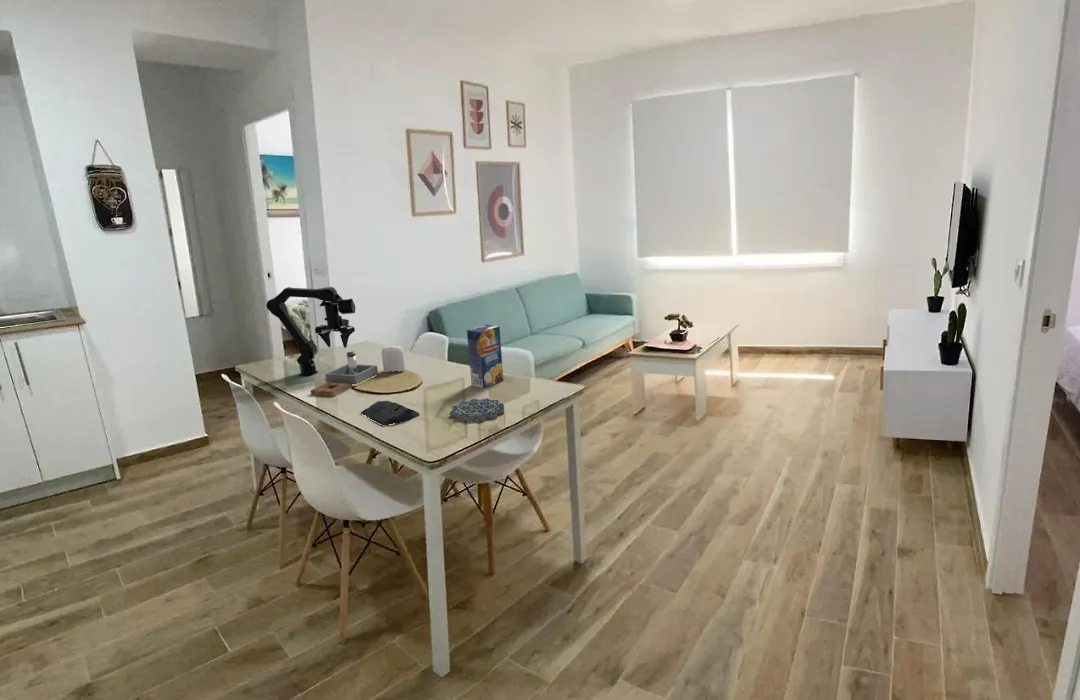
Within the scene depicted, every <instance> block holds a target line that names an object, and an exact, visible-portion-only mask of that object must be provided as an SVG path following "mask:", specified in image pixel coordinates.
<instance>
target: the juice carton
mask: <svg viewBox="0 0 1080 700" xmlns="http://www.w3.org/2000/svg"><path fill="white" fill-rule="evenodd" d="M500 330H501V329H500V326H499V325H494V324H493V325H491V324H484V325H481V326H477V327H474V328H470V329H467V330H466V334H467V337H466V338H467V347H468V357H469V359H468V360H469V370H470V382H471V386H473V387H477V388H482V389H485V388H487V387H490V386H493V385H496V384H498V383H500V382H503V381H504V370H503V358H502V357H503V356H502V344H501V343H502V341H501V331H500Z"/></svg>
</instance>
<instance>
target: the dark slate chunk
mask: <svg viewBox="0 0 1080 700" xmlns="http://www.w3.org/2000/svg"><path fill="white" fill-rule="evenodd" d="M360 413H361V414H363V415H366V416H367V417H369V418H370V419H372V420H374V421H376V422H378V423H380V424H382V425H389V424H393V423H398V424H401V423H400V422H403V423H405V422H404V421H406V422H408V421H411V420H413V419H414V418H416V417H418V416H420V412H418V411H416V410H414V409H411V408H409V407H406V406H404V405H401V404H400V403H397V402H392V401H390V400H381V401H380V400H379V401H376V402H374V403H373V404H371V405H369V407H367V408H365V409H363V410H362V411H361V412H360ZM407 420H408V421H407Z"/></svg>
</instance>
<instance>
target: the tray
mask: <svg viewBox="0 0 1080 700" xmlns="http://www.w3.org/2000/svg"><path fill="white" fill-rule="evenodd" d="M357 370H358V374H356V375H350V373H349V366H348V363H347V364H344V365H342V366H340V367H337V368H336V369H333V370H331V371H329V372H327V373H325V374H324V375H325V383H327V382H329V381H330V382H343V383H352V384H357V383H360V382H362V381H364V380H366V379H368V378H371V377H372V376H375V375H377V374H378V375H379V371H378V366H377V365H373V364H372V365H371V364H361V363H360V364H358V363H357Z"/></svg>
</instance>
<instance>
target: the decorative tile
mask: <svg viewBox="0 0 1080 700" xmlns="http://www.w3.org/2000/svg"><path fill="white" fill-rule="evenodd" d="M451 409H452V410H450V411H449V414H450V417H451V416H452V417H451V418H455V421H456V420H465V421H464V422H466V421H467V422H470V423H472V422H471V421H474V422H479V421H482V422H481V423H484V422H486V421H488V420H497V419H498V416H501V415H505V404H504V403H501V402H500V401H499V400H498V399H490V398H488V397H487V398H481V399H477V398H472V399H471V400H469V401H468V400H467V401H466V400H465V401H460V402H459V404H457V405H452V406H451ZM487 419H488V420H487ZM476 420H477V421H476ZM485 420H486V421H485ZM483 421H484V422H483ZM467 422H466V423H467Z"/></svg>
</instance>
